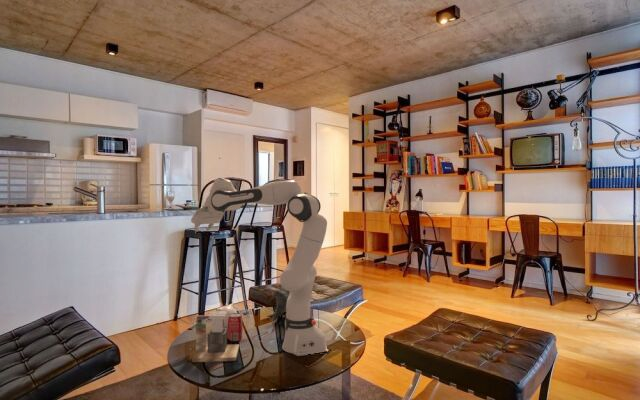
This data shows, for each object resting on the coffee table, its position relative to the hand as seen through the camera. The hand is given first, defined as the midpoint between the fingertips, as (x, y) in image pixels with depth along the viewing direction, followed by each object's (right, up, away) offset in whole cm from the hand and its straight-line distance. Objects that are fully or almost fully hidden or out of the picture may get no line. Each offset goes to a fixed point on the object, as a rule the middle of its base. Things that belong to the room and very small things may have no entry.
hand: (201, 230), depth 188 cm
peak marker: (+8, -38, -29) cm, 49 cm away
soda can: (+19, -53, -10) cm, 57 cm away
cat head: (+12, -53, +3) cm, 54 cm away
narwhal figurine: (+38, -53, +24) cm, 70 cm away
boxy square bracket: (+13, -44, -26) cm, 53 cm away
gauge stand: (+15, -53, -27) cm, 61 cm away
